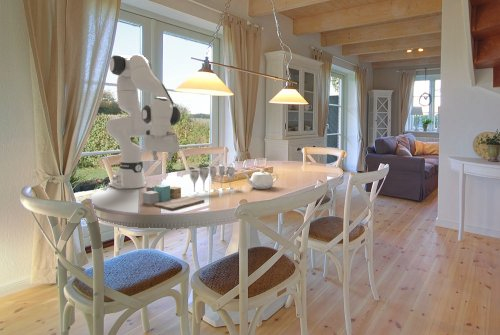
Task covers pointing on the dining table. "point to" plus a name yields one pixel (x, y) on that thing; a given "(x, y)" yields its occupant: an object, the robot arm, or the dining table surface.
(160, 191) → the teal block
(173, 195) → the oak block
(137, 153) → the robot arm
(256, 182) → the teapot
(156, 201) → the grey block
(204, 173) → the goblet set
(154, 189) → the charcoal cylinder
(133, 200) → the dining table surface
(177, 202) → the walnut board
